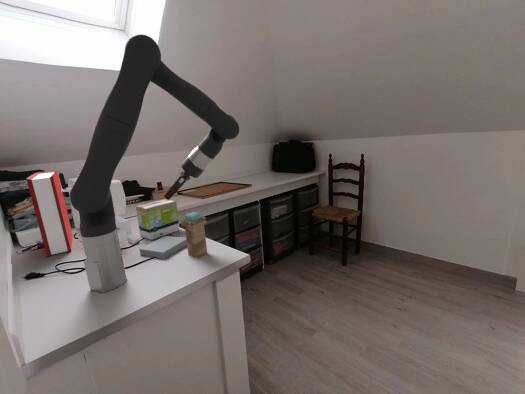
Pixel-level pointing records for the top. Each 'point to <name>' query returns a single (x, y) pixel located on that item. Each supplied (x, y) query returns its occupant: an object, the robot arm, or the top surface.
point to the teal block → (193, 217)
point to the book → (50, 211)
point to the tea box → (157, 218)
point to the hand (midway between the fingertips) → (169, 194)
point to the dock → (163, 247)
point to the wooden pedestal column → (195, 237)
